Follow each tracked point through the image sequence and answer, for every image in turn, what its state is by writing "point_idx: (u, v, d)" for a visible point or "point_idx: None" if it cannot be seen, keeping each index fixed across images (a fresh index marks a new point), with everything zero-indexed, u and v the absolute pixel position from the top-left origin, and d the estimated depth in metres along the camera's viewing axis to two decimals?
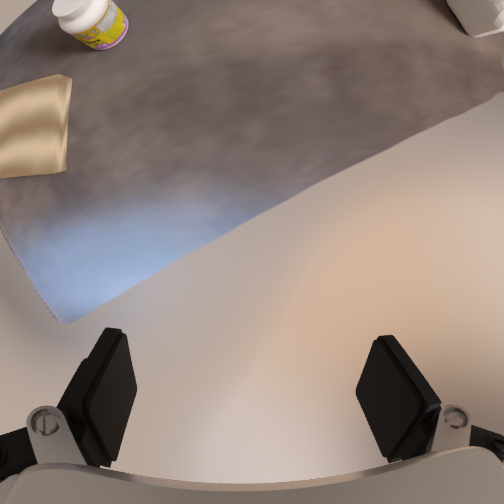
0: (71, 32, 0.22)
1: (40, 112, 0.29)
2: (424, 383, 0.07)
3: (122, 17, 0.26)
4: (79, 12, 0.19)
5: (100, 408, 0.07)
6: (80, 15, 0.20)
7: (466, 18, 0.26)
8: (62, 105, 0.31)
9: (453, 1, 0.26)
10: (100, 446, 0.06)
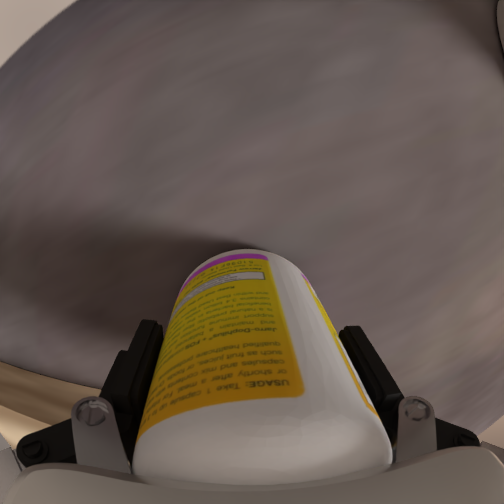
0: None
1: None
2: (385, 373, 0.08)
3: None
4: None
5: (144, 396, 0.07)
6: None
7: None
8: None
9: None
10: None
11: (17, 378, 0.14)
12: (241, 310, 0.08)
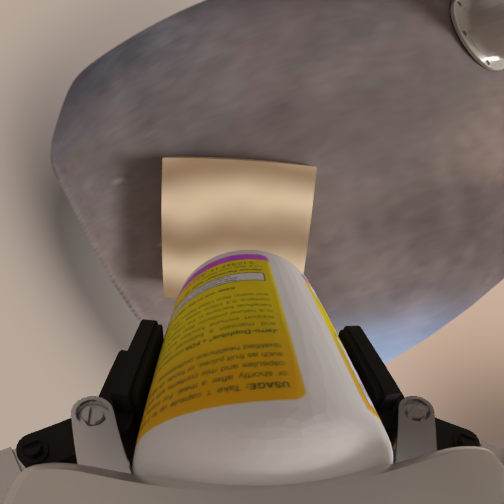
0: None
1: (283, 219, 0.28)
2: (385, 373, 0.08)
3: None
4: None
5: (144, 396, 0.07)
6: None
7: None
8: None
9: None
10: None
11: None
12: (241, 311, 0.08)
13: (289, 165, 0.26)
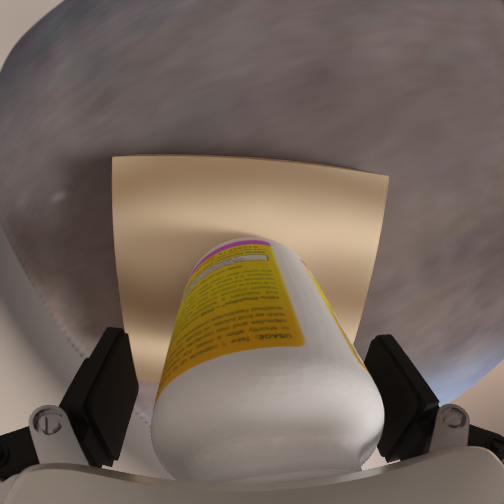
0: None
1: (330, 268, 0.15)
2: (422, 382, 0.07)
3: None
4: None
5: (102, 407, 0.07)
6: None
7: None
8: None
9: None
10: (102, 445, 0.06)
11: None
12: (248, 283, 0.09)
13: (345, 171, 0.14)
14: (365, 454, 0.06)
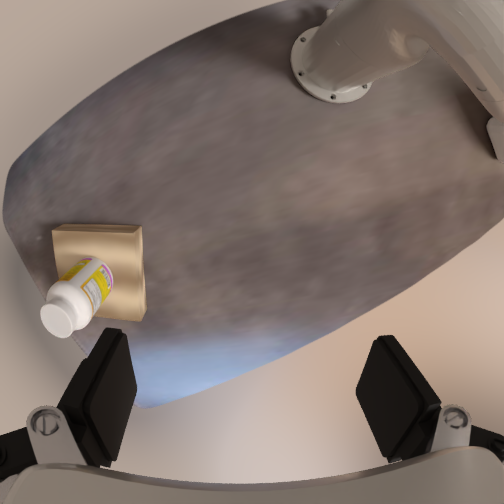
0: None
1: (118, 267, 0.39)
2: (424, 383, 0.07)
3: (106, 284, 0.37)
4: None
5: (100, 408, 0.07)
6: None
7: (501, 150, 0.37)
8: (138, 259, 0.41)
9: (493, 131, 0.36)
10: (100, 446, 0.06)
11: (76, 225, 0.40)
12: (72, 270, 0.33)
13: (116, 233, 0.38)
14: (79, 309, 0.30)
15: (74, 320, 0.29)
